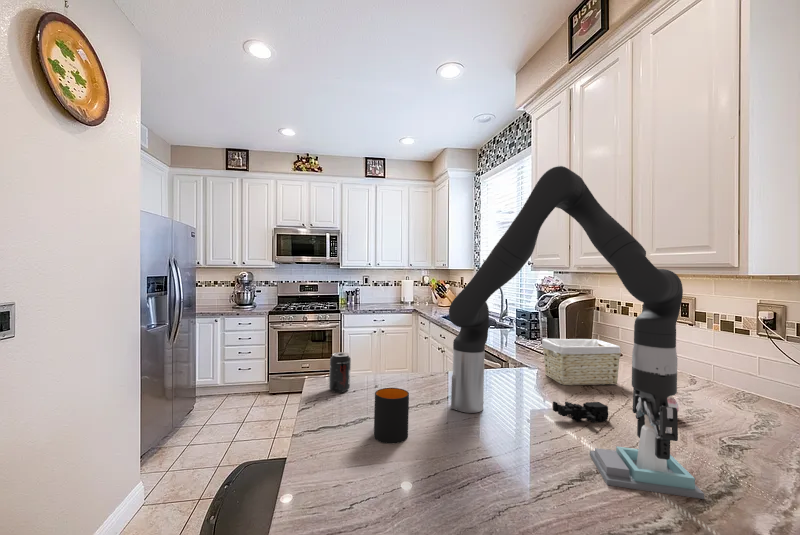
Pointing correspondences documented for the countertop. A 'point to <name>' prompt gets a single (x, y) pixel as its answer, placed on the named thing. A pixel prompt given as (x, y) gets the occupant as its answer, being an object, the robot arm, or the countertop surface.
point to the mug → (391, 415)
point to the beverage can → (340, 372)
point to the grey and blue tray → (643, 473)
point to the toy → (583, 411)
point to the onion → (672, 402)
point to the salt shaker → (649, 450)
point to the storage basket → (581, 361)
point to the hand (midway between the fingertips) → (652, 447)
